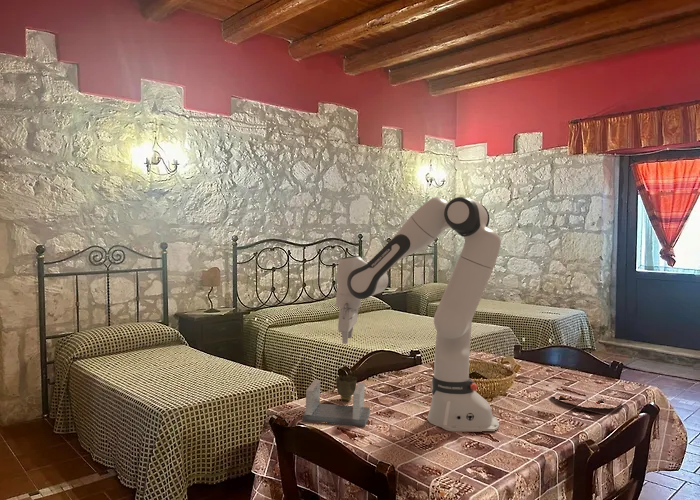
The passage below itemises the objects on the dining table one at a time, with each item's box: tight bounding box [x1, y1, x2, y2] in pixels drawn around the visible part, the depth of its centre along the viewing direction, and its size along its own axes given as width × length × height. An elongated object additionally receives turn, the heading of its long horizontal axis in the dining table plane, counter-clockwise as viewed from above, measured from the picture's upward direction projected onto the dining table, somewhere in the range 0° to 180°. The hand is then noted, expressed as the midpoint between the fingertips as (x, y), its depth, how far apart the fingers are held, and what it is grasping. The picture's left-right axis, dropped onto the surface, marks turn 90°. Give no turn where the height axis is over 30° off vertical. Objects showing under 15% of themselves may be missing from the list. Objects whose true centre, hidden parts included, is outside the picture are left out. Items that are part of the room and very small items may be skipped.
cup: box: [335, 374, 358, 402], centre depth 195 cm, size 8×7×8 cm
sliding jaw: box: [305, 379, 321, 415], centre depth 178 cm, size 2×12×8 cm, turn 171°
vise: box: [301, 382, 371, 428], centre depth 177 cm, size 20×12×10 cm, turn 81°
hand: (347, 340), depth 194 cm, fingers open, 8 cm apart
